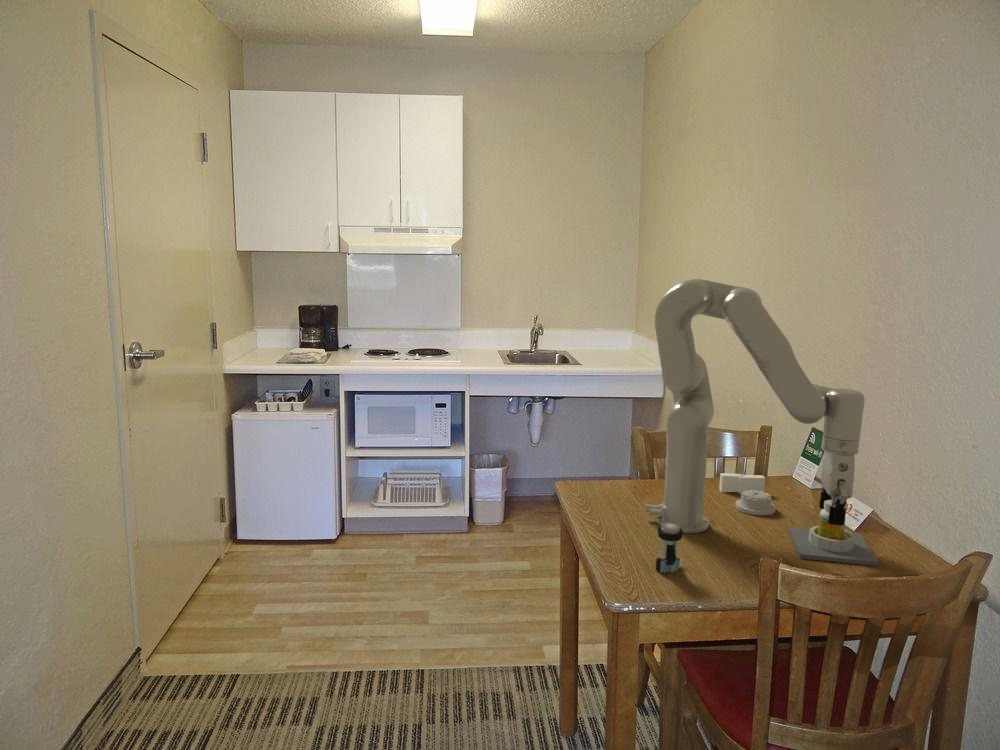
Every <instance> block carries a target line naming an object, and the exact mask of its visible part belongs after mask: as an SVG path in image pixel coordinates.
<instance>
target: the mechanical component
mask: <svg viewBox="0 0 1000 750" xmlns="http://www.w3.org/2000/svg"><path fill="white" fill-rule="evenodd" d="M776 508H777V507H776V505H775V504H774V503H772V495H771V494H770V493H769V492H765V491H764V492H763V491H757V490H747V491H742V493H741V494H740V499H739V498H738V499H737V500H736V501H735V509H737V510H738V512H741V513H744V514H747V515H752V516H753V515H754V516H762V517H763V516H770V515H773V513H774V514H775V513H776Z"/></svg>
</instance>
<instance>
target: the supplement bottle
mask: <svg viewBox="0 0 1000 750" xmlns="http://www.w3.org/2000/svg"><path fill="white" fill-rule="evenodd" d="M835 502H836V500H835ZM830 506H832V500H826V501H824V508H825V509H821V510H820V512H819V518H818V526H819V528H818V535H819V536H821V537H824V538H828V539H833V540H843V539H844V529H845V526H846V520H845V521H844V525H833V524H829V523H828V519H829V511H830ZM846 517H847V516H846V515H845V519H846ZM845 530H846V529H845Z"/></svg>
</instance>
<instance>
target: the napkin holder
mask: <svg viewBox="0 0 1000 750" xmlns="http://www.w3.org/2000/svg"><path fill="white" fill-rule="evenodd" d="M765 485H766V477H765V475H759V474H757V475H754V474H752V475H751V474H743V473H729V472H728V473H727V472H726V473H724V472H720V474H719V486H718V487H719V488H718V489H719V490H718V491H720V492H721V493H726V492H738V493H742V491H747V490H757V491H763V492H765ZM738 493H737V494H738Z"/></svg>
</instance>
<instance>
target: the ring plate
mask: <svg viewBox="0 0 1000 750" xmlns="http://www.w3.org/2000/svg"><path fill="white" fill-rule="evenodd" d="M818 528H819V525H814V526H812V527H810V528H801V527H791V526H789V527H787V529H788V530H787V532H788V534H789V536H790V539H791V541H792V544H793V545H794V548H795V551H796V553H797V555H798V558H799V559H803V560H811V559H812V561H821V560H828V561H827V562H831V561H837V562H836V563H841V562H843V563H844V564H851V565H852V564H853V565H861V566H862V565H863V566H871V567H872V566H874V567H879V560H878V559H877V557H876V556H875V554H874V553H873V551H872V550H871V547H869V545H868V544H867V542H866V541H865V539H864V538H863V537H862V535H861V533H857V532H856V533H854V532H851V531H848V530H846V529H844V539H843V540H833V539H828V538H824V537H821V536H819V535H818ZM843 563H842V564H843Z"/></svg>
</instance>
